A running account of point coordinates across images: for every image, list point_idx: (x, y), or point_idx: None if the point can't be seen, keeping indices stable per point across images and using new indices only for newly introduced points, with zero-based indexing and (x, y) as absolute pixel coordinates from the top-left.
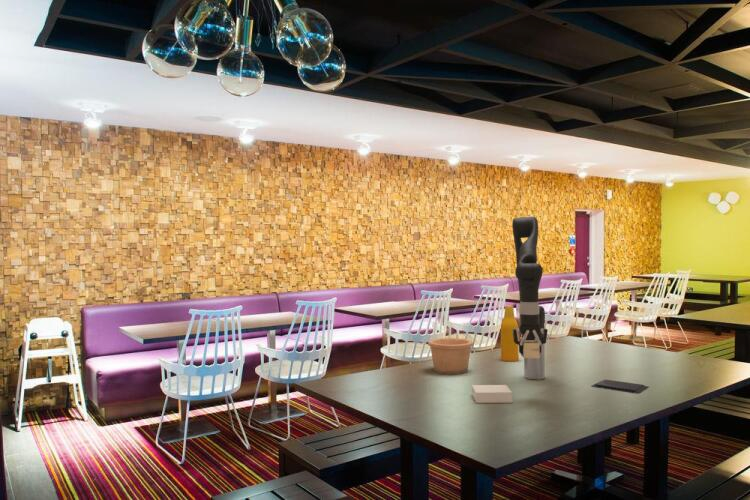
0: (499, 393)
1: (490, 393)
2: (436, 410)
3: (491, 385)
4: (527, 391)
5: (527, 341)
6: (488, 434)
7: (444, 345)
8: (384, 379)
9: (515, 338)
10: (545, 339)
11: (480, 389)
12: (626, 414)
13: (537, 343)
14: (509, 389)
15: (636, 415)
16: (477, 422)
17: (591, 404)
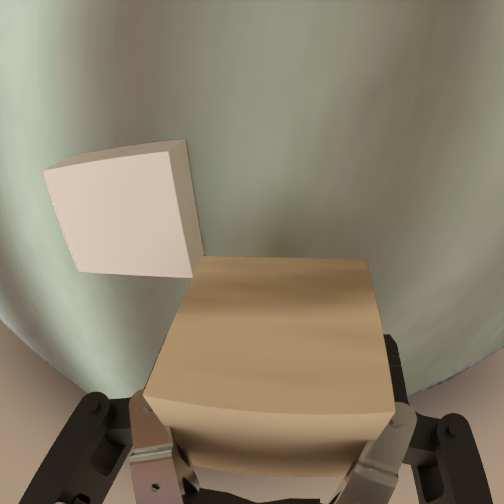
0: (148, 273)
1: (119, 271)
2: (43, 301)
3: (106, 169)
4: (299, 73)
5: (240, 439)
6: None
7: None
8: None
9: (97, 467)
10: (436, 481)
11: (80, 234)
12: (477, 347)
13: (328, 474)
14: (183, 236)
15: (488, 350)
16: (134, 370)
17: (467, 279)
